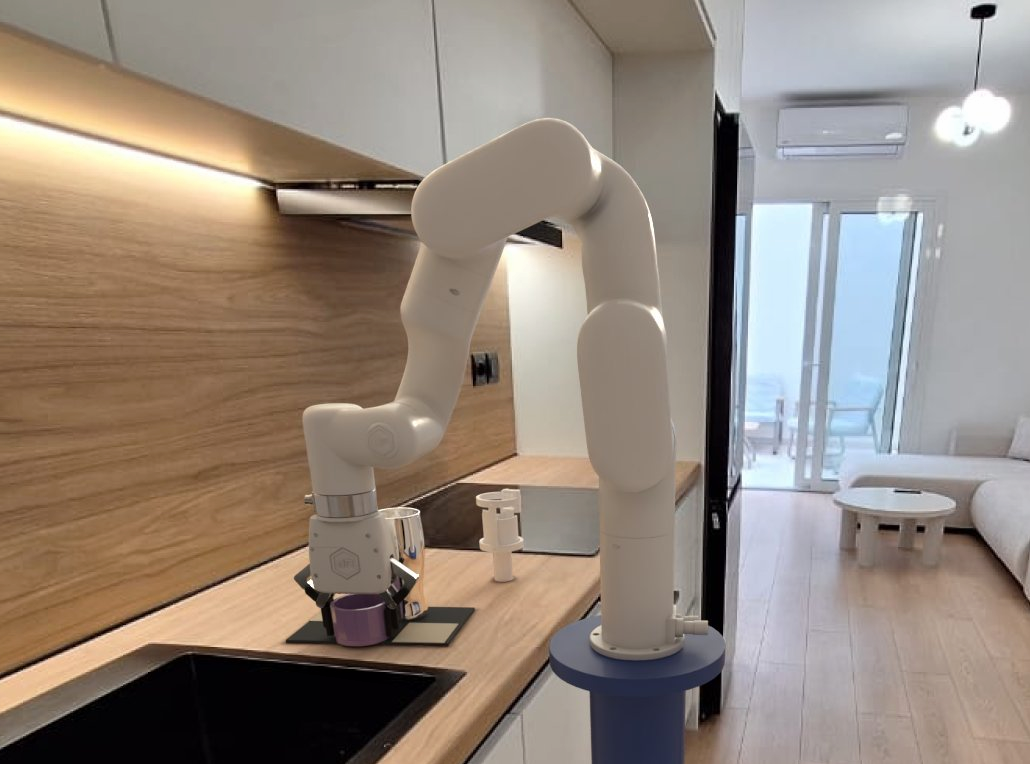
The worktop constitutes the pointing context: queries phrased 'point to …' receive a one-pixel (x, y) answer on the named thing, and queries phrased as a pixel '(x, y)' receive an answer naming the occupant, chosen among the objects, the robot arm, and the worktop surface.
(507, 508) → the white tall plastic stand
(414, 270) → the robot arm
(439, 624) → the place mat
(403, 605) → the beer glass
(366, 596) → the dish
